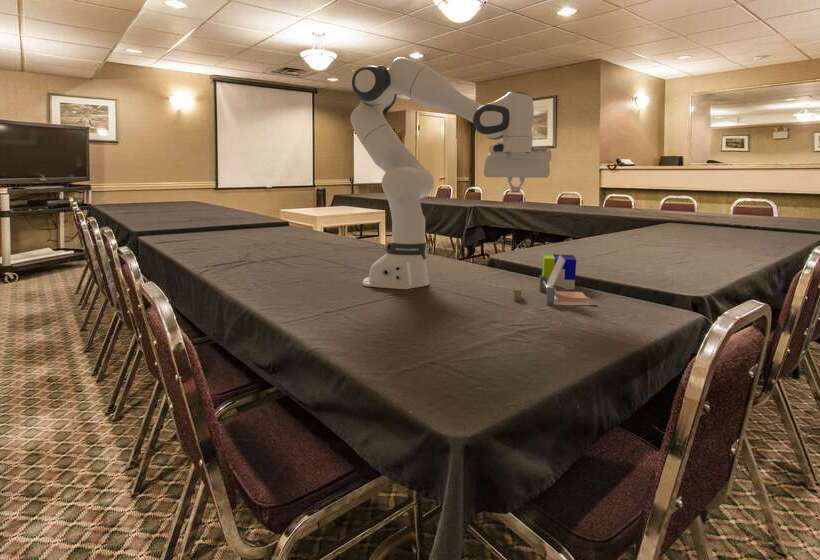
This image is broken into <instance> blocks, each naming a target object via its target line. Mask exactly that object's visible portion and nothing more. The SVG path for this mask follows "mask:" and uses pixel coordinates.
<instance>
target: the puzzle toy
mask: <svg viewBox="0 0 820 560" xmlns="http://www.w3.org/2000/svg"><path fill="white" fill-rule="evenodd" d="M559 255H560V256H562V257H563V258H564V259H565V260H566V261H565V263H564V265H563V267H562V270H561V272H560V274H559V276H558V278H557V281H556V283H555V285H558V286H560V287H563V288H565V289H566V290H567V289H574V290H575V283H576V270H577V259H576V257H575V255H573V254H555V253H554V254H553V253H552V254H551V253H550V254H548V253H543V254H542V267H541V276H547V282H548V280H549V277H550V275H551V273H552V271H553V268H554V266H555V264H556V262H557V260H558V257H559Z"/></svg>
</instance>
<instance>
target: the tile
mask: <svg viewBox="0 0 820 560" xmlns="http://www.w3.org/2000/svg"><path fill="white" fill-rule="evenodd" d="M554 295H555V298H556V299H557V301H558V302H559V303H583V304H587V297H586V296H587V295H585V293H583V292H582V291H566V292H562V291H559V290H557V291H556V293H555V294H554Z"/></svg>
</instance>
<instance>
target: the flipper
mask: <svg viewBox="0 0 820 560" xmlns="http://www.w3.org/2000/svg"><path fill="white" fill-rule="evenodd" d="M558 255H559V257H558V260H557V262H556V264H555V266H554V268H553V271H552V273H551V275H550V277H549V280H548V282H547V281H546V282H545V280H542V282H543V284H544V286H545V287H546V290H547V287H554V288H555V293H556V291H562V292H567V289H565V288H563V287H560V286H558V285H555V283H556V281H557V278H558V276H559V274H560V272H561V270H562V267H563V265H564V263H565V261H566V260H565V259H564V258H563V257H562V256H560V255H561V254H558Z"/></svg>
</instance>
